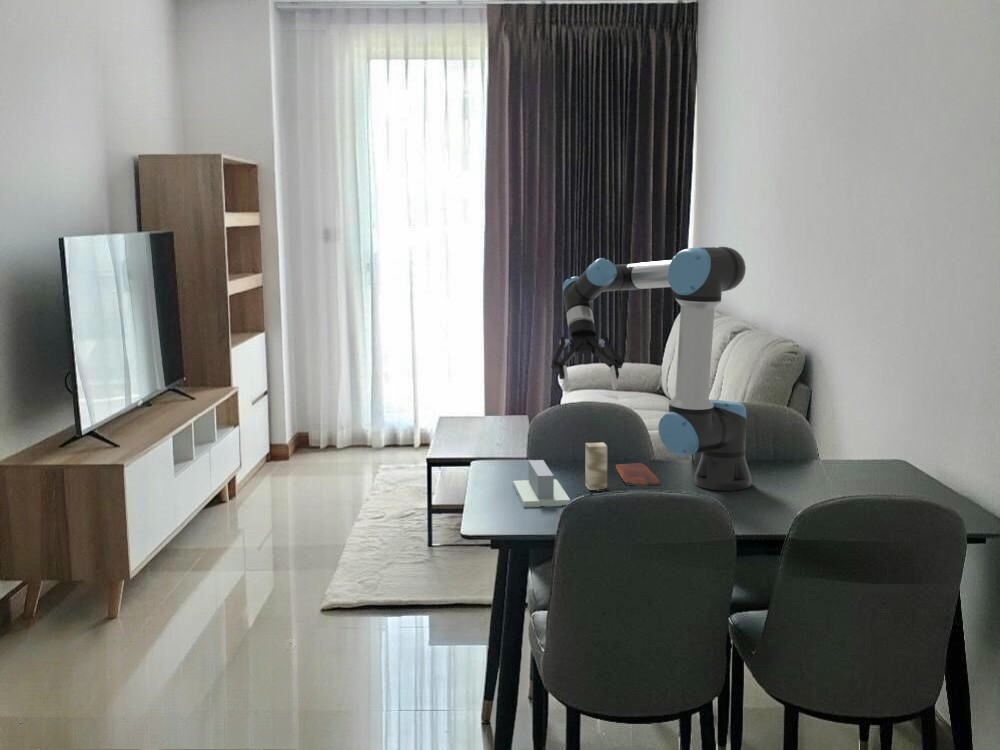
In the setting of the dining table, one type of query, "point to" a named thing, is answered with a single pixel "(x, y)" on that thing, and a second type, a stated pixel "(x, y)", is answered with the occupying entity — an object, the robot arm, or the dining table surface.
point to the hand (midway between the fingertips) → (591, 388)
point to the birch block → (595, 466)
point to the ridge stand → (540, 487)
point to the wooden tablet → (636, 474)
